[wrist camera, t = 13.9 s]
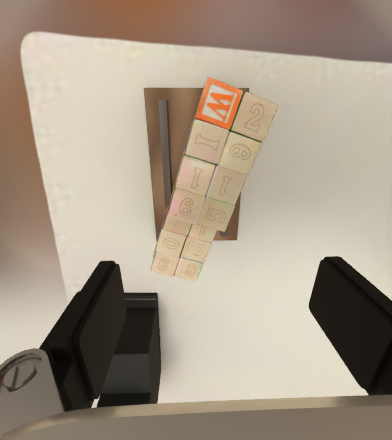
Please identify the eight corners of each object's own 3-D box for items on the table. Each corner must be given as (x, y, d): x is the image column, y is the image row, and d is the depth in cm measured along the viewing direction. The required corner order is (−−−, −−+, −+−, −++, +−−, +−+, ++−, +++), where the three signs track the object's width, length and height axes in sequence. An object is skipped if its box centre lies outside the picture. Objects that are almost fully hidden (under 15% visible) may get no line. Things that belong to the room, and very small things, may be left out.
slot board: (247, 89, 30) (252, 86, 28) (235, 237, 39) (238, 244, 37) (145, 89, 29) (141, 85, 27) (157, 238, 38) (155, 245, 36)
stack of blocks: (193, 246, 36) (196, 300, 25) (157, 236, 36) (143, 288, 24) (244, 112, 29) (281, 103, 17) (199, 95, 28) (207, 73, 16)
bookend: (103, 292, 43) (18, 459, 21) (158, 292, 43) (129, 455, 22) (116, 368, 52) (66, 539, 31) (162, 367, 53) (144, 535, 31)
